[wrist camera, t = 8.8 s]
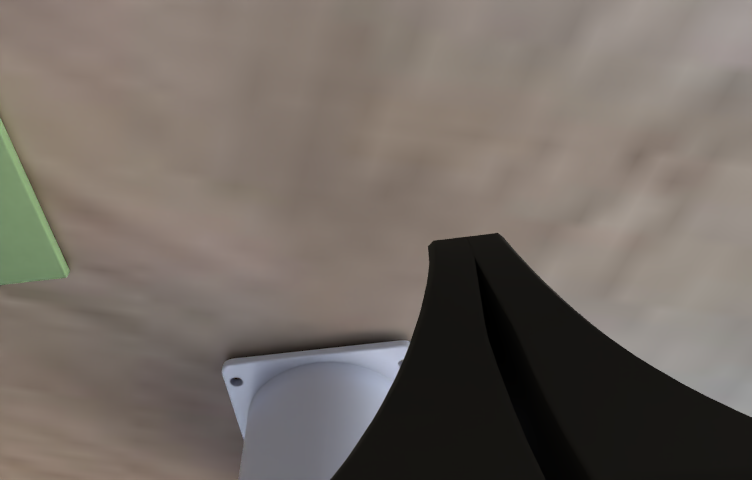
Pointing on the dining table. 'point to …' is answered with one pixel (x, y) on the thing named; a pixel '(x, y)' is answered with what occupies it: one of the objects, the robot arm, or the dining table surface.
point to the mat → (23, 226)
